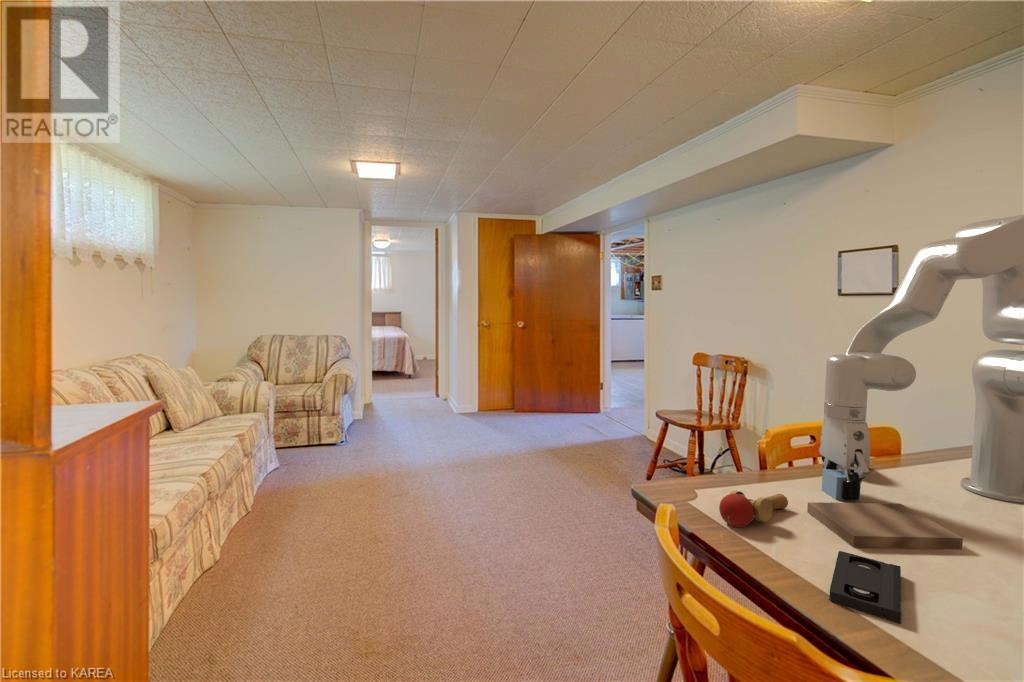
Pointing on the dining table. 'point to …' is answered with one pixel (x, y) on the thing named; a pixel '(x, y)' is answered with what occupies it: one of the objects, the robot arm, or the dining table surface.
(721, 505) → the kendama
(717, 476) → the dining table surface
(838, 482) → the cube
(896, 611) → the vhs tape
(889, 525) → the board
